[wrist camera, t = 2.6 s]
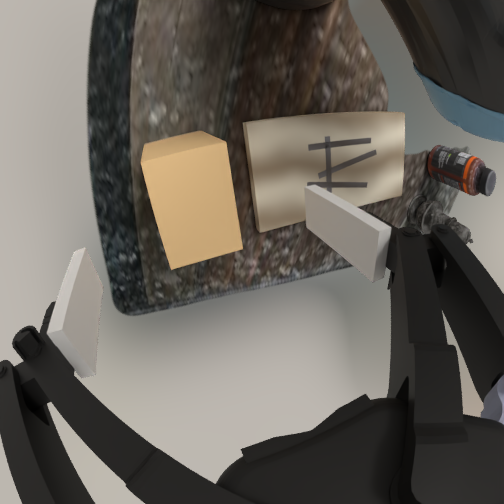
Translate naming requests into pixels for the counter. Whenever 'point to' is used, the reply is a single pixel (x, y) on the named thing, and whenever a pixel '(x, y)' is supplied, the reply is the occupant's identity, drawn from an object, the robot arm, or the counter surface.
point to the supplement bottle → (461, 171)
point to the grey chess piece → (434, 217)
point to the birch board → (322, 161)
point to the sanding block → (192, 197)
